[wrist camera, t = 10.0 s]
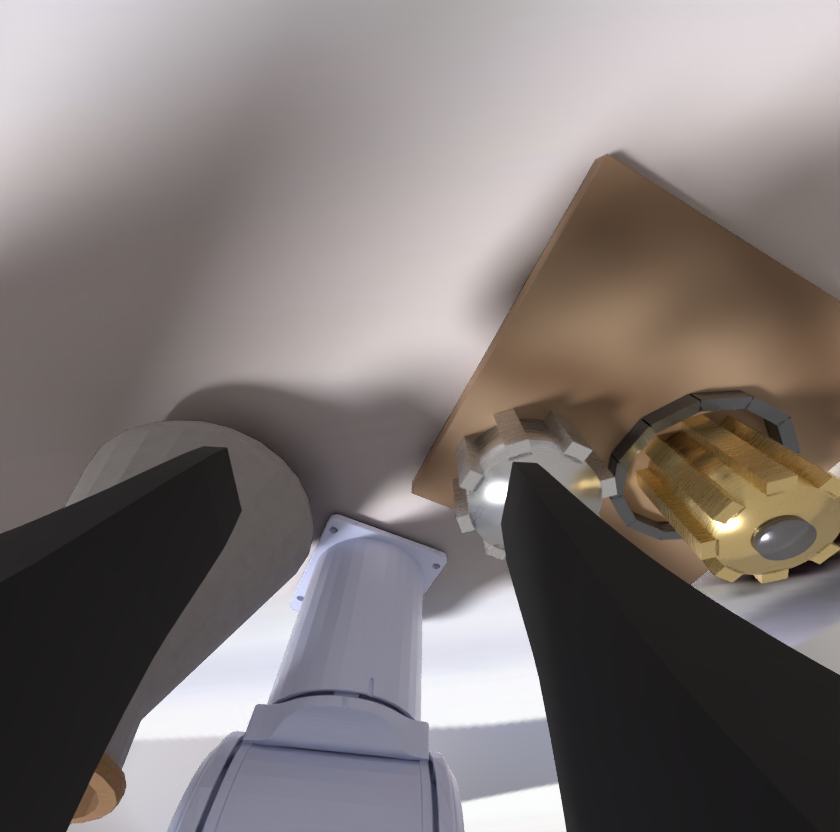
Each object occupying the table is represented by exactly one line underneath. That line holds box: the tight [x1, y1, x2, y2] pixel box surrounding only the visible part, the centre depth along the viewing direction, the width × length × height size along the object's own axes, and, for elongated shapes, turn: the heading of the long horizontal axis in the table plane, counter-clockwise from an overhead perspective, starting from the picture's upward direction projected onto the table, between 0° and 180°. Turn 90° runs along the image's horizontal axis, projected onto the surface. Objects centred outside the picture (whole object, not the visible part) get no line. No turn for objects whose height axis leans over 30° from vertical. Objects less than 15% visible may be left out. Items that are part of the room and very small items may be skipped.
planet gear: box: [636, 414, 840, 584], centre depth 16 cm, size 6×6×5 cm
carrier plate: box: [412, 154, 840, 585], centre depth 18 cm, size 17×19×1 cm
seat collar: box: [608, 390, 800, 540], centre depth 18 cm, size 9×9×1 cm
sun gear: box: [452, 408, 617, 560], centre depth 17 cm, size 7×7×4 cm
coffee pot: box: [64, 420, 314, 824], centre depth 16 cm, size 21×12×15 cm, turn 156°
